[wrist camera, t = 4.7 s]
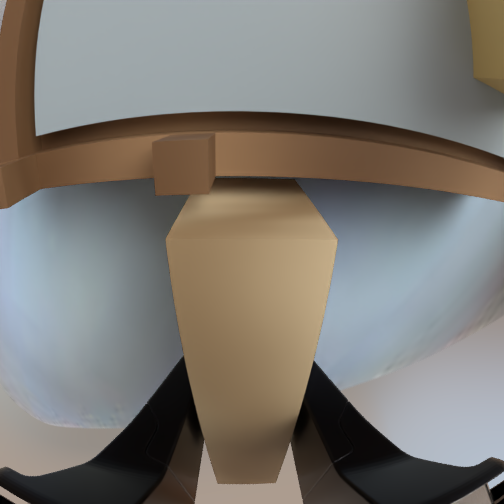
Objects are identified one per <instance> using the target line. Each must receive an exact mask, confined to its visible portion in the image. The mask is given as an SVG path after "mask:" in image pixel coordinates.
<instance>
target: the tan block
mask: <svg viewBox="0 0 504 504" xmlns="http://www.w3.org/2000/svg"><path fill="white" fill-rule="evenodd" d="M165 240H166V249H167V257H168V264H169V271H170V278H171V285H172V292H173V298H174V304H175V310H176V316H177V322H178V327H179V333H180V338H181V343H182V348H183V353H184V358H185V363H186V368H187V372H188V377H189V381H190V386H191V390H192V394H193V398H194V402H195V406H196V410H197V414H198V418H199V422H200V426H201V429H202V433H203V437H204V440H205V443H206V447H207V451H208V454H209V457H210V461H211V464H212V467H213V470H214V474H215V476H216V480H217V483H218V484H261V483H276V481H277V478H278V475H279V472H280V470H281V466H282V464H283V461H284V458H285V455H286V452H287V449H288V446H289V443H290V440H291V437H292V434H293V431H294V428H295V425H296V421H297V418H298V415H299V411H300V408H301V405H302V401H303V398H304V394H305V390H306V387H307V383H308V379H309V376H310V372H311V368H312V364H313V360H314V356H315V352H316V348H317V344H318V340H319V335H320V331H321V327H322V322H323V318H324V313H325V308H326V303H327V298H328V293H329V288H330V283H331V278H332V272H333V267H334V261H335V255H336V249H337V243H338V239H337V238H336V236H335V235H334V233H333V232H332V230H331V229H330V227H329V226H328V224H327V223H326V222H325V220H324V219H323V217H322V216H321V214H320V213H319V212H318V210H317V209H316V207H315V206H314V205H313V203H312V202H311V200H310V199H309V198H308V196H307V195H306V194H305V192H304V191H303V190H302V188H301V187H300V186H299V184H298V183H297V181H296V180H295V179H268V178H215V179H214V182H213V185H212V187H211V190H210V193H209V194H198V195H190V196H189V197H188V199H187V201H186V203H185V204H184V206H183V208H182V210H181V211H180V213H179V215H178V217H177V219H176V220H175V222H174V224H173V226H172V228H171V230H170V231H169V233H168V235H167V237H166V239H165Z"/></svg>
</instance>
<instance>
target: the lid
mask: <svg viewBox="0 0 504 504" xmlns="http://www.w3.org/2000/svg"><path fill="white" fill-rule="evenodd" d="M34 100H35V128H36V136H39V135H43V134H47V133H51V132H56V131H60V130H64V129H69V128H74V127H78V126H83V125H89V124H94V123H100V122H106V121H112V120H119V119H126V118H134V117H142V116H151V115H162V114H174V113H190V112H216V111H254V112H280V113H296V114H308V115H319V116H328V117H337V118H345V119H352V120H359V121H365V122H371V123H377V124H383V125H388V126H393V127H398V128H403V129H408V130H412V131H417V132H421V133H425V134H429V135H433V136H437V137H441V138H444V139H448V140H452V141H455V142H458V143H462V144H465V145H468V146H471V147H475V148H478V149H481V150H484V151H486V152H489V153H492V154H495V155H498V156H500V157H503V158H504V0H44V2H43V7H42V12H41V18H40V25H39V32H38V40H37V50H36V63H35V92H34Z"/></svg>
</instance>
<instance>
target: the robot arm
mask: <svg viewBox="0 0 504 504" xmlns="http://www.w3.org/2000/svg"><path fill="white" fill-rule="evenodd" d="M290 442H291V446H292V451H293V456H294V461H295V466H296V471H297V475H298V480H299V485H300V490H301V495H302V499H303V504H504V481H502V482H501V483H499V484H497V485H496V486H495V487H493V488H491V489H489V486H488V482H489V481H491V480H492V479H494V478H495V477H497V476H498V475H499V474H501V473H502V472H504V461H503V460H500V459H497V458H493V457H491V458H488V459H487V460H485V461H483V462H481V463H480V464H478V465H476V466H471V467H458V466H453V465H447V464H442V463H437V462H432V461H428V460H423V459H419V458H415V457H413V456H410V455H408V454H406V453H405V452H403V451H402V450H400V449H399V448H398V447H397V446H395V445H394V444H393V443H392V442H391V441H390V440H388V439H387V438H386V437H385V436H384V435H382V434H381V433H380V432H379V431H378V430H377V429H375V428H374V427H373V426H372V425H371V424H370V423H369V422H368V421H367V420H366V419H365V418H364V417H363V416H362V415H361V414H360V413H359V412H358V411H357V410H356V409H355V408H354V407H353V405H352V404H351V403H350V402H348V400H347V398H346V397H345V396H344V395H343V394H342V393H341V392H340V390H339V389H338V388H337V387H336V386H335V385H334V383H333V382H332V381H331V380H330V379H329V378H328V376H327V375H326V374H325V373H324V372H323V371H322V369H321V368H320V367H319V366H318V365H317V364H316V362H315V361H314V360H313V364H312V368H311V372H310V376H309V379H308V383H307V387H306V390H305V394H304V398H303V401H302V405H301V408H300V411H299V415H298V418H297V421H296V425H295V428H294V431H293V434H292V437H291V440H290ZM203 444H204V437H203V433H202V429H201V426H200V422H199V418H198V414H197V410H196V406H195V402H194V398H193V394H192V390H191V386H190V381H189V377H188V372H187V368H186V363H185V358H184V355H183V357H182V358H181V359H180V361H179V362H178V363H177V364H176V366H175V367H174V368H173V370H172V371H171V372H170V374H169V375H168V376H167V377H166V379H165V380H164V381H163V383H162V384H161V385H160V387H159V388H158V389H157V390H156V392H155V393H154V394H153V396H152V397H151V398H150V399H149V401H148V402H147V404H145V406H144V407H143V408H142V410H141V411H140V412H139V413H138V415H137V416H136V417H135V418H134V419H133V421H132V422H131V423H130V424H129V425H128V426H127V427H126V428H125V429H124V430H123V431H122V432H121V433H120V434H119V435H118V436H117V437H116V438H115V439H114V440H113V441H112V442H111V443H110V444H109V445H108V446H107V447H105V448H104V450H102V451H101V452H100V453H99V454H98V455H97V456H96V457H94V458H93V459H92V460H90V461H88V462H86V463H84V464H82V465H78V466H75V467H71V468H68V469H64V470H61V471H57V472H53V473H49V474H45V475H41V476H25V475H22V474H20V473H18V472H16V471H14V470H12V469H10V468H8V467H4V468H1V469H0V486H1V487H3V488H4V489H6V490H8V491H9V492H11V493H13V494H14V495H16V496H17V497H19V498H21V499H23V500H24V501H26V502H28V504H195V502H194V501H195V496H196V490H197V483H198V477H199V470H200V463H201V457H202V451H203ZM0 504H15V503H14V502H12V501H10V500H9V499H7V498H5V497H4V496H2V495H0Z"/></svg>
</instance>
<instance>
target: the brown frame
mask: <svg viewBox="0 0 504 504" xmlns="http://www.w3.org/2000/svg"><path fill="white" fill-rule="evenodd" d="M43 2H44V0H7V2H6V6H5V11H4V16H3V21H2V26H1V32H0V209H4V208H9V207H11V206H12V205H14V204H16V203H17V202H19V201H21V200H22V199H24V198H26V197H27V196H29V195H31V194H33V193H34V192H36V191H38V190H40V189H44V188H51V187H59V186H67V185H76V184H85V183H95V182H106V181H117V180H131V179H146V178H154V184H155V196H160V195H198V194H209V193H210V190H211V187H212V185H213V182H214V179H215V177H216V176H272V177H300V178H320V179H335V180H349V181H361V182H372V183H382V184H392V185H401V186H409V187H417V188H424V189H432V190H438V191H445V192H452V193H458V194H464V195H469V196H475V197H480V198H486V199H491V200H496V201H501V202H504V158H503V157H500V156H498V155H495V154H492V153H489V152H486V151H484V150H481V149H478V148H475V147H471V146H468V145H465V144H462V143H458V142H455V141H452V140H448V139H444V138H441V137H437V136H433V135H429V134H425V133H421V132H417V131H412V130H408V129H403V128H398V127H393V126H388V125H383V124H377V123H371V122H365V121H359V120H352V119H345V118H337V117H328V116H319V115H308V114H296V113H280V112H254V111H216V112H190V113H174V114H162V115H151V116H142V117H134V118H126V119H119V120H112V121H106V122H100V123H94V124H89V125H83V126H78V127H74V128H69V129H64V130H60V131H56V132H51V133H47V134H43V135H39V136H36V128H35V100H34V92H35V63H36V50H37V40H38V32H39V25H40V18H41V12H42V7H43Z"/></svg>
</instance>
